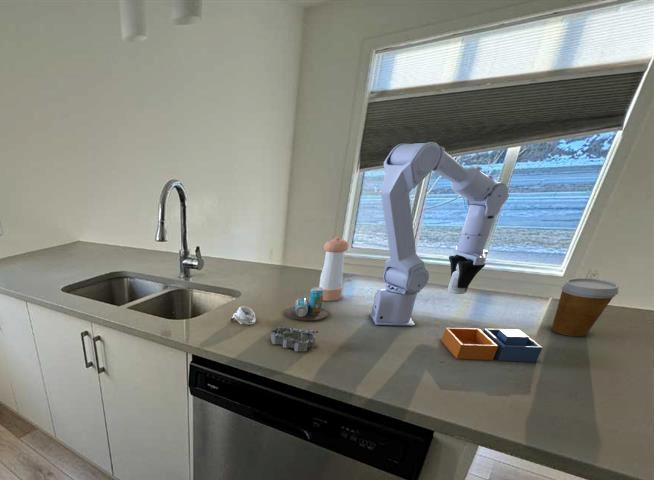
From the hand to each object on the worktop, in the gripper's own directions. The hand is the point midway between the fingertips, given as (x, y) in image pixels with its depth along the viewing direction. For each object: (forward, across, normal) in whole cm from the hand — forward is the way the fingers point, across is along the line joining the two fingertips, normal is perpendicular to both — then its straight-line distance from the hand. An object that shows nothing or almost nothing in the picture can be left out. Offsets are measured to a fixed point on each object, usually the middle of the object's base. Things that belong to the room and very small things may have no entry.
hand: (458, 285), depth 111 cm
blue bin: (+8, -25, -3) cm, 27 cm away
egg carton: (+8, -25, +44) cm, 51 cm away
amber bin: (+8, -25, +5) cm, 27 cm away
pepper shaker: (+8, +13, +31) cm, 34 cm away
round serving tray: (+8, -3, +39) cm, 40 cm away
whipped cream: (+8, -10, +57) cm, 58 cm away
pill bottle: (+2, 0, 0) cm, 2 cm away
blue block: (+8, -25, -3) cm, 27 cm away
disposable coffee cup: (+8, -12, -21) cm, 26 cm away
